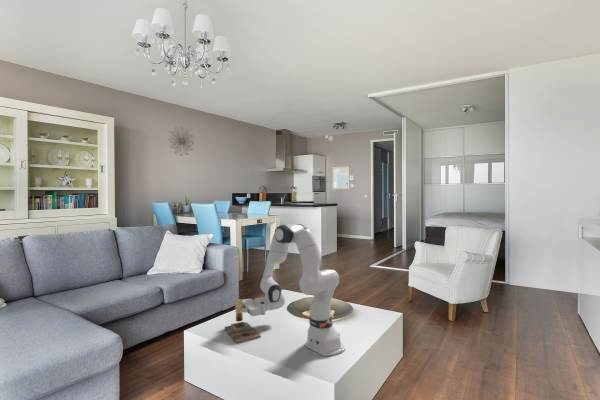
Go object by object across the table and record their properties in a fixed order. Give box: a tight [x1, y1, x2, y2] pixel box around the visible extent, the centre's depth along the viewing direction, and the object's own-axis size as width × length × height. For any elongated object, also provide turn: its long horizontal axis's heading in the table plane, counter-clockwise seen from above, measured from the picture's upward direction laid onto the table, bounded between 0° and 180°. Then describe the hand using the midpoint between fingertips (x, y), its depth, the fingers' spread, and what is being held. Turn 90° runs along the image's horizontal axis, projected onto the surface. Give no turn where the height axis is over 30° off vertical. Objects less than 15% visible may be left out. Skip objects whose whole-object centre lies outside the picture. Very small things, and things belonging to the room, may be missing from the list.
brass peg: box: [235, 298, 244, 322], centre depth 200 cm, size 4×4×12 cm
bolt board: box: [224, 321, 261, 344], centre depth 197 cm, size 22×14×3 cm, turn 30°
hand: (237, 309), depth 199 cm, fingers closed on brass peg, 4 cm apart
